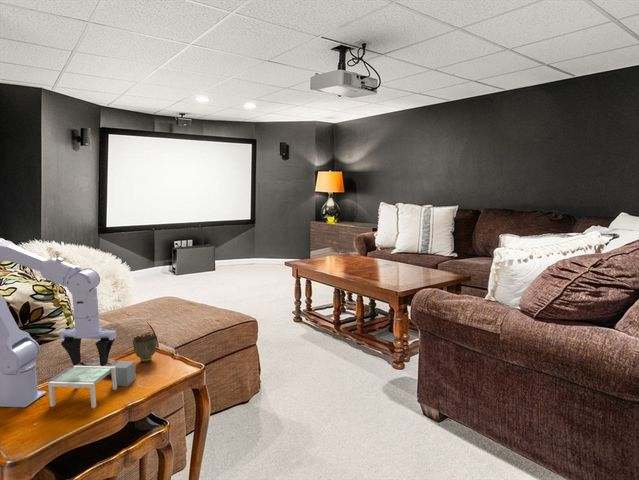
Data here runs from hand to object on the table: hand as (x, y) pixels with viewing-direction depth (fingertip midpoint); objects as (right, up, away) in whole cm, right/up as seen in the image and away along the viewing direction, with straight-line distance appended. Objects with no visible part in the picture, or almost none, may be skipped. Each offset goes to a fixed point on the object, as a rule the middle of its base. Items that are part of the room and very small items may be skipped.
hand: (90, 364), depth 113 cm
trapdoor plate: (-3, -4, +1) cm, 5 cm away
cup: (+5, -7, +25) cm, 26 cm away
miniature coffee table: (-2, -9, +1) cm, 10 cm away
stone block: (+4, -8, +10) cm, 14 cm away
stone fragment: (-7, -8, +21) cm, 23 cm away
